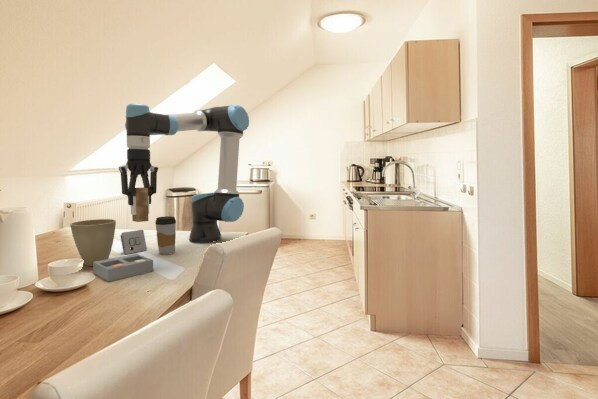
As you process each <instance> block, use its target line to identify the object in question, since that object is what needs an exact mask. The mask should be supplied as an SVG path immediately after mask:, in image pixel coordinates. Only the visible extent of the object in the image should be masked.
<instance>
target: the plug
mask: <svg viewBox="0 0 598 399" xmlns="http://www.w3.org/2000/svg"><path fill="white" fill-rule="evenodd" d="M133 196H136V215H132V214H131V216H132V217H131V218H132V222H135V223H141V222H143V223H144V222H149V214H148V188H144V187H135V190H134V195H133Z"/></svg>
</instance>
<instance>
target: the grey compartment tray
mask: <svg viewBox="0 0 598 399" xmlns="http://www.w3.org/2000/svg"><path fill="white" fill-rule="evenodd" d="M92 269H93V274H94V275H96V276H98V277H99V278H100V279H101V278H102V279H103V280H104V281H106V282H113V281H116V280H121V279H126V278H130V277H134V276H138V275H142V274H147V273H151V272H153V271H154V260H153V259H151V258H148V257H146V256H144V255H140V254H138V253H131V254H126V255H122V256H117V257H112V258H108V259H106V260H101V261H95V262H93V266H92Z"/></svg>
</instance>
